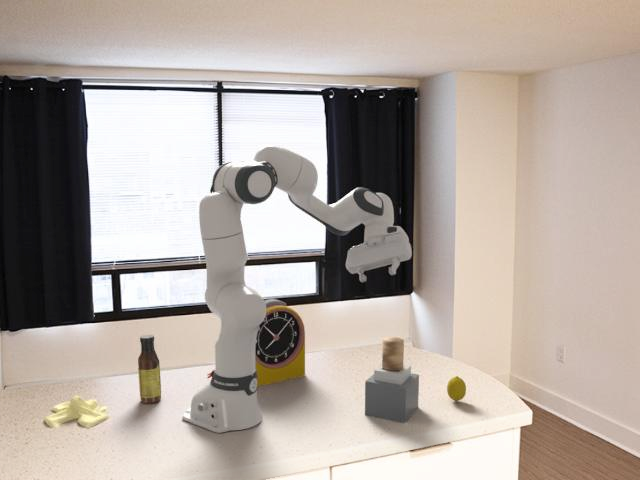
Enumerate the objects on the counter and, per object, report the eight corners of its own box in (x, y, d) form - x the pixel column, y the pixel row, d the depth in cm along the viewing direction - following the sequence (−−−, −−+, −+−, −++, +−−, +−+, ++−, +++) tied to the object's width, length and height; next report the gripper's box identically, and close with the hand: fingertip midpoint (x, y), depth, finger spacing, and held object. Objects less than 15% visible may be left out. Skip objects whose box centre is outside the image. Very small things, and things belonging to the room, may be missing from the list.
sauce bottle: (165, 400, 186) (163, 336, 183) (147, 406, 181) (144, 341, 179) (153, 394, 190) (151, 332, 188) (135, 400, 186) (132, 336, 183)
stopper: (379, 379, 176) (379, 341, 174) (386, 373, 181) (386, 336, 179) (399, 383, 173) (399, 344, 171) (405, 376, 178) (406, 338, 177)
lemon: (465, 406, 182) (466, 380, 181) (446, 404, 183) (447, 378, 182) (465, 399, 187) (466, 373, 186) (446, 397, 188) (447, 372, 187)
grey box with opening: (364, 414, 176) (365, 371, 174) (379, 400, 186) (380, 358, 184) (405, 423, 170) (406, 378, 169) (418, 407, 181) (419, 364, 179)
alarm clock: (249, 388, 196) (248, 307, 192) (237, 379, 203) (236, 301, 200) (306, 375, 207) (305, 298, 203) (292, 367, 215) (291, 293, 211)
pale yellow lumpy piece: (107, 428, 168) (106, 407, 167) (35, 434, 164) (33, 412, 164) (118, 397, 190) (118, 378, 189) (54, 401, 186) (53, 382, 185)
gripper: (343, 242, 188) (340, 279, 180) (405, 224, 179) (405, 263, 171) (353, 253, 192) (350, 290, 184) (413, 237, 183) (414, 275, 175)
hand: (377, 277), depth 177 cm, fingers open, 8 cm apart
